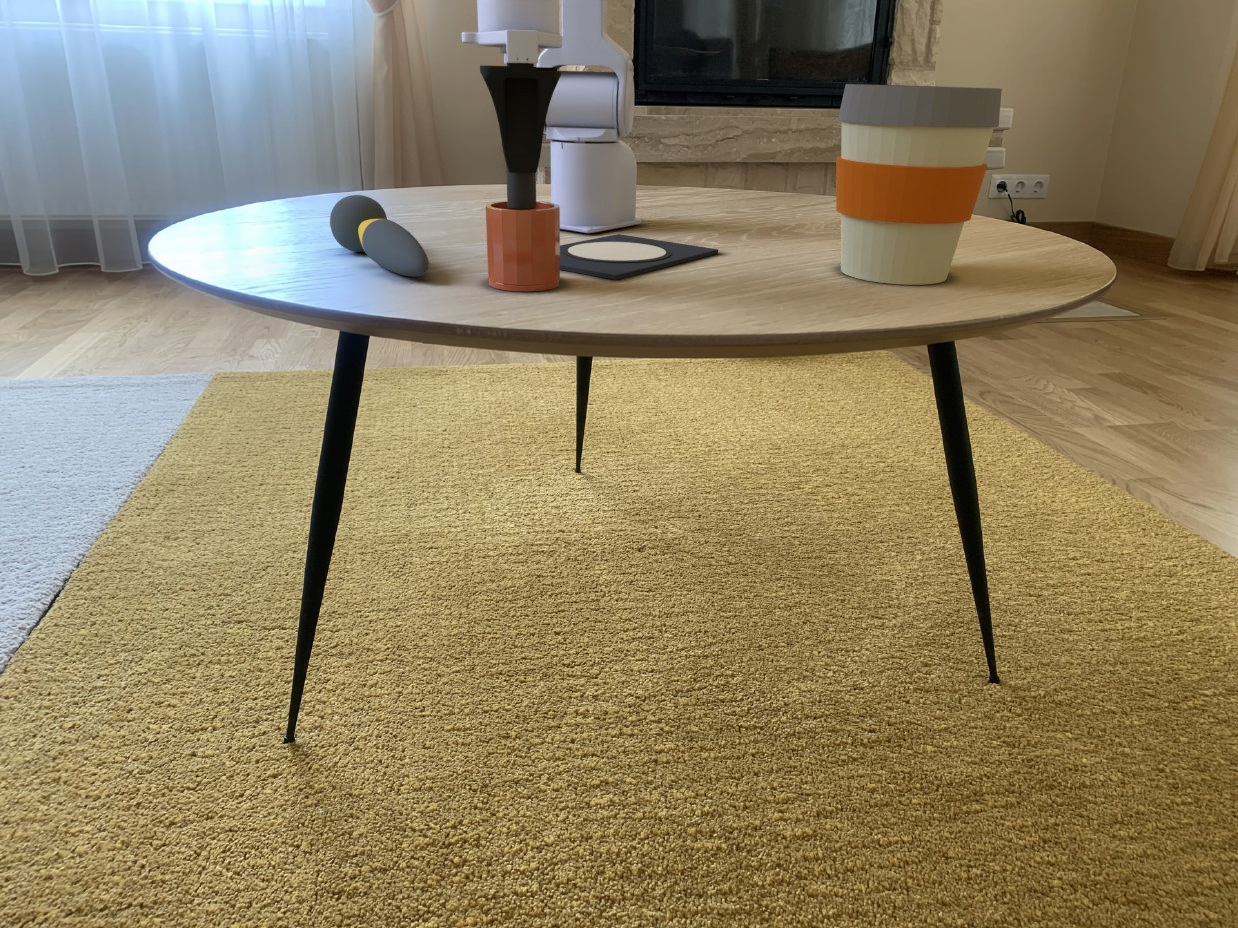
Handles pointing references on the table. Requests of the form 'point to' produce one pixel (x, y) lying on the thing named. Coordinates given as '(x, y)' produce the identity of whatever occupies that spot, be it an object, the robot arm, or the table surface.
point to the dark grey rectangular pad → (626, 255)
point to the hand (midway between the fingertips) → (521, 170)
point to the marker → (521, 190)
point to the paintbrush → (376, 236)
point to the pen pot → (523, 246)
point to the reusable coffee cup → (909, 176)
